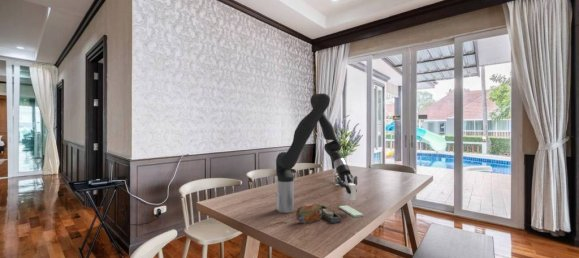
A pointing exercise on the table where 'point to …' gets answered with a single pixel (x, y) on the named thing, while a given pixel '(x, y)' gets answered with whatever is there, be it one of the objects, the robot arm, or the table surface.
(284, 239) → the table surface
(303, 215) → the tin
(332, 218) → the frame
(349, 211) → the board
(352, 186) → the white rectangular block
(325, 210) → the offcut stack
